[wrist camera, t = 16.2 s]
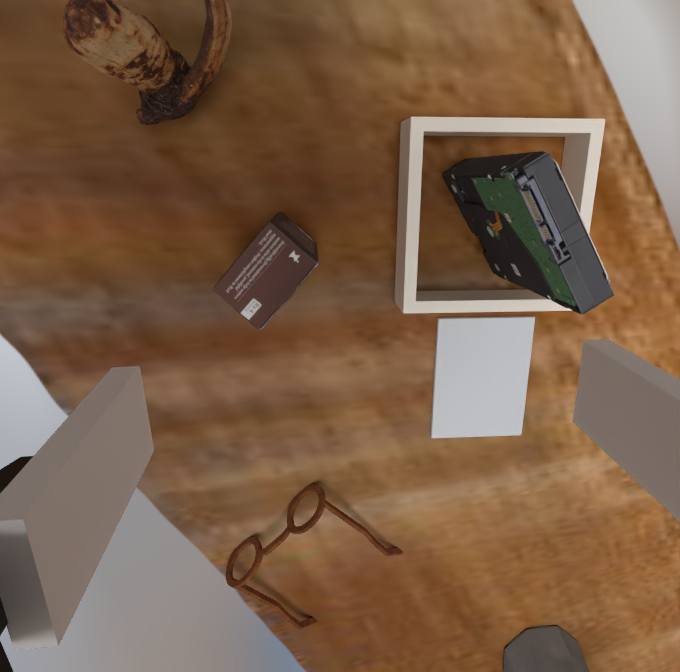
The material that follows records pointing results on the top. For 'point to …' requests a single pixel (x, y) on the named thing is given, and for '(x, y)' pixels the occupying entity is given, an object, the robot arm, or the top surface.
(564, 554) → the top surface
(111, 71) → the bone fish hook
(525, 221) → the disk drive
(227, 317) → the top surface
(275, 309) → the box
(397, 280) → the storage box
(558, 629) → the coffeepot
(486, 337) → the mat
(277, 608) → the glasses
